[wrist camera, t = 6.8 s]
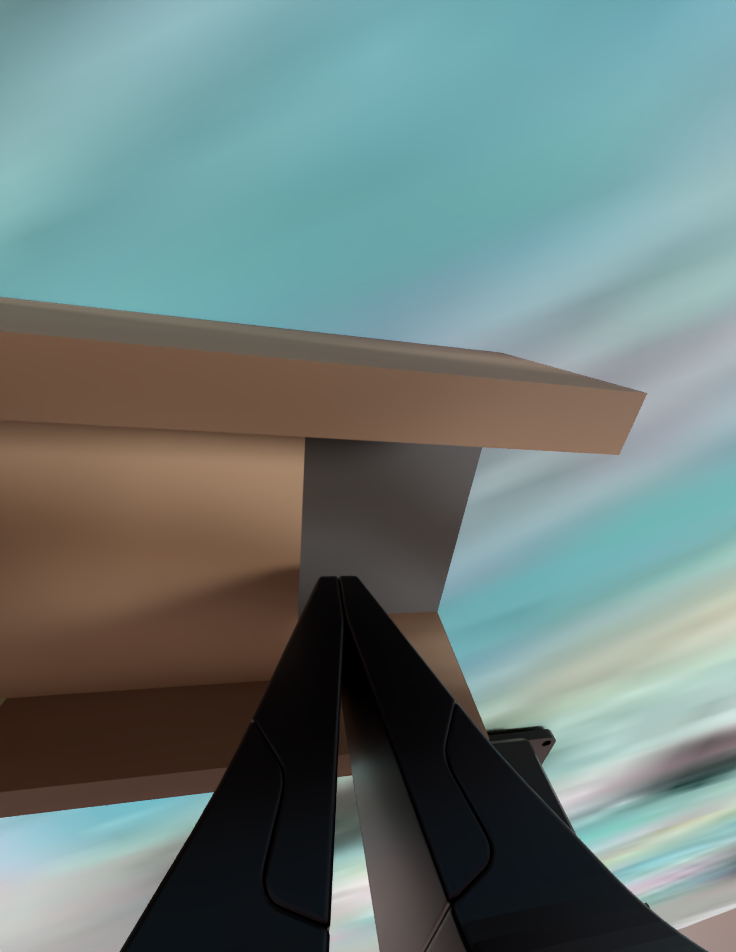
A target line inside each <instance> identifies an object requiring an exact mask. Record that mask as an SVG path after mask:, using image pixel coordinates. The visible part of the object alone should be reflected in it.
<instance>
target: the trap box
mask: <svg viewBox="0 0 736 952" xmlns="http://www.w3.org/2000/svg"><path fill="white" fill-rule="evenodd" d="M646 395H647V393H644V392H641V391H637V390H634V389H630V388H626V387H623V386H619V385H616V384H612V383H608V382H605V381H601V380H598V379H594V378H590V377H587V376H583V375H580V374H576V373H572V372H569V371H565V370H562V369H558V368H554V367H551V366H547V365H544V364H540V363H536V362H533V361H529V360H526V359H522V358H518V357H515V356H511V355H508V354H504V353H498V352H489V351H480V350H471V349H462V348H453V347H444V346H435V345H427V344H418V343H409V342H400V341H391V340H382V339H373V338H364V337H355V336H346V335H337V334H328V333H319V332H310V331H301V330H292V329H283V328H274V327H265V326H256V325H247V324H238V323H229V322H220V321H211V320H202V319H193V318H184V317H175V316H166V315H157V314H148V313H139V312H130V311H121V310H112V309H103V308H94V307H85V306H76V305H67V304H58V303H49V302H40V301H31V300H22V299H13V298H4V297H0V818H2V817H11V816H19V815H27V814H36V813H44V812H52V811H60V810H69V809H77V808H85V807H93V806H102V805H110V804H118V803H127V802H135V801H143V800H151V799H160V798H168V797H176V796H185V795H193V794H201V793H209V792H215V790H216V788H217V787H218V785H219V783H220V781H221V779H222V777H223V775H224V773H225V771H226V769H227V767H228V765H229V763H230V761H231V759H232V757H233V755H234V753H235V751H236V750H237V748H238V745H239V743H240V741H241V739H242V737H243V735H244V733H245V731H246V729H247V727H248V725H249V723H250V722H252V717H253V715H254V712H255V710H256V708H257V706H258V704H259V702H260V700H261V698H262V696H263V694H264V691H265V689H266V687H267V685H268V683H269V681H270V679H271V677H272V675H273V673H274V670H275V668H276V666H277V664H278V662H279V660H280V658H281V656H282V654H283V651H284V649H285V647H286V645H287V643H288V641H289V639H290V637H291V635H292V633H293V630H294V628H295V626H296V624H297V622H298V620H299V618H300V616H301V614H302V611H303V609H304V607H305V605H306V603H307V601H308V599H309V597H310V595H311V593H312V590H313V588H314V586H315V584H316V582H317V580H318V578H319V577H321V576H336V577H337V578H339V577H340V576H357V577H358V578H359V579H360V580H361V582H362V583H363V584H364V585H365V587H366V588H367V589H368V590H369V592H370V593H371V594H372V595H373V597H374V598H375V599H376V600H377V602H378V603H379V604H380V605H381V607H382V608H383V609H384V610H385V612H386V613H387V614H388V615H389V617H390V618H391V619H392V621H393V622H394V623H395V624H396V626H397V627H398V628H399V629H400V631H401V632H402V633H403V634H404V636H405V637H406V638H407V639H408V641H409V642H410V643H411V644H412V646H413V647H414V648H415V649H416V651H417V652H418V653H419V654H420V656H421V657H422V658H423V660H424V661H425V662H426V663H427V665H428V666H429V667H430V668H431V670H432V671H433V672H434V673H435V675H436V676H437V677H438V678H439V680H440V681H441V682H442V683H443V685H444V686H445V687H446V688H447V690H448V691H449V692H450V694H451V695H452V696H453V697H454V699H455V701H456V702H455V704H457V703H458V704H459V705H460V706H461V707H462V708H463V710H464V711H465V712H466V713H467V715H468V716H469V717H470V719H471V720H472V721H473V722H474V723H475V725H476V726H477V727H478V728H479V729H480V731H481V732H482V733H483V734H484V735H485V737H486V738H487V739H488V740H489V737H488V734H487V732H486V729H485V727H484V724H483V722H482V720H481V717H480V715H479V712H478V710H477V707H476V705H475V703H474V700H473V698H472V695H471V693H470V690H469V688H468V686H467V683H466V681H465V678H464V676H463V673H462V671H461V669H460V666H459V664H458V661H457V659H456V656H455V654H454V652H453V649H452V647H451V644H450V642H449V639H448V637H447V635H446V632H445V630H444V627H443V625H442V622H441V620H440V618H439V615H438V613H437V611H438V607H439V603H440V600H441V596H442V592H443V589H444V585H445V581H446V578H447V574H448V570H449V567H450V563H451V559H452V556H453V552H454V548H455V545H456V541H457V537H458V534H459V530H460V526H461V523H462V519H463V515H464V512H465V508H466V504H467V501H468V497H469V493H470V490H471V486H472V482H473V479H474V475H475V471H476V468H477V464H478V460H479V457H480V453H481V449H482V447H490V448H507V449H525V450H543V451H560V452H578V453H596V454H614V455H619V454H620V452H621V450H622V447H623V445H624V443H625V441H626V439H627V436H628V434H629V432H630V430H631V428H632V425H633V423H634V421H635V419H636V417H637V415H638V412H639V410H640V408H641V406H642V404H643V401H644V399H645V397H646ZM350 775H352V769H351V763H350V756H349V750H348V743H347V737H346V731H345V724H344V718H343V711H342V705H341V709H340V730H339V751H338V772H337V777H342V776H350Z"/></svg>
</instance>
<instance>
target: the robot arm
mask: <svg viewBox="0 0 736 952" xmlns="http://www.w3.org/2000/svg"><path fill="white" fill-rule="evenodd" d="M455 702H456V701H455V699H454V697H453V696H452V695H451V694H450V692H449V691H448V690H447V688H446V687H445V686H444V685H443V683H442V682H441V681H440V680H439V678H438V677H437V676H436V675H435V673H434V672H433V671H432V670H431V668H430V667H429V666H428V665H427V663H426V662H425V661H424V660H423V658H422V657H421V656H420V654H419V653H418V652H417V651H416V649H415V648H414V647H413V646H412V644H411V643H410V642H409V641H408V639H407V638H406V637H405V636H404V634H403V633H402V632H401V631H400V629H399V628H398V627H397V626H396V624H395V623H394V622H393V621H392V619H391V618H390V617H389V615H388V614H387V613H386V612H385V610H384V609H383V608H382V607H381V605H380V604H379V603H378V602H377V600H376V599H375V598H374V597H373V595H372V594H371V593H370V592H369V590H368V589H367V588H366V587H365V585H364V584H363V583H362V582H361V580H360V579H359V578H358V577H357V576H340V577H339V578H337V577H336V576H321V577H319V578H318V580H317V582H316V584H315V586H314V588H313V590H312V593H311V595H310V597H309V599H308V601H307V603H306V605H305V607H304V609H303V611H302V614H301V616H300V618H299V620H298V622H297V624H296V626H295V628H294V630H293V633H292V635H291V637H290V639H289V641H288V643H287V645H286V647H285V649H284V651H283V654H282V656H281V658H280V660H279V662H278V664H277V666H276V668H275V670H274V673H273V675H272V677H271V679H270V681H269V683H268V685H267V687H266V689H265V691H264V694H263V696H262V698H261V700H260V702H259V704H258V706H257V708H256V710H255V712H254V715H253V717H252V722H250V723H249V725H248V727H247V729H246V731H245V733H244V735H243V737H242V739H241V741H240V743H239V745H238V748H237V750H236V751H235V753H234V755H233V757H232V759H231V761H230V763H229V765H228V767H227V769H226V771H225V773H224V775H223V777H222V779H221V781H220V783H219V785H218V787H217V788H216V790H215V792H214V794H213V795H212V797H211V799H210V801H209V802H208V804H207V806H206V808H205V809H204V811H203V813H202V815H201V816H200V818H199V820H198V822H197V823H196V825H195V827H194V829H193V830H192V832H191V834H190V836H189V837H188V839H187V840H186V842H185V844H184V845H183V847H182V849H181V850H180V852H179V854H178V855H177V857H176V859H175V860H174V862H173V864H172V865H171V867H170V869H169V870H168V872H167V874H166V875H165V877H164V879H163V880H162V882H161V884H160V885H159V887H158V889H157V890H156V892H155V894H154V895H153V897H152V899H151V900H150V902H149V904H148V905H147V907H146V909H145V910H144V912H143V914H142V915H141V917H140V919H139V920H138V922H137V924H136V925H135V927H134V929H133V930H132V932H131V933H130V935H129V937H128V938H127V940H126V942H125V943H124V945H123V947H122V948H121V950H120V952H329V941H330V935H329V928H330V920H331V899H332V878H333V857H334V836H335V814H336V793H337V772H338V751H339V730H340V709H341V705H342V711H343V718H344V724H345V731H346V737H347V743H348V750H349V756H350V763H351V769H352V776H353V782H354V789H355V795H356V801H357V808H358V814H359V821H360V827H361V834H362V840H363V847H364V853H365V859H366V866H367V872H368V879H369V885H370V892H371V898H372V905H373V911H374V918H375V924H376V930H377V937H378V943H379V950H380V952H708V951H707V950H705V949H704V948H702V947H700V946H699V945H697V944H696V943H694V942H693V941H691V940H690V939H689V938H687V937H686V936H684V935H683V934H681V933H680V932H679V931H677V930H676V929H675V928H673V927H672V926H671V925H669V924H668V923H667V922H665V921H664V920H663V919H662V918H660V917H659V916H658V915H657V914H656V913H654V912H653V911H652V910H651V909H650V907H649V905H648V904H647V903H643V902H642V901H640V900H639V899H638V898H637V897H636V896H635V895H634V894H633V893H632V892H631V891H630V890H628V889H627V888H626V887H625V886H624V885H623V884H622V883H621V882H620V881H619V880H618V879H617V878H616V877H615V876H614V875H613V874H612V873H611V872H610V871H609V869H608V868H607V867H606V866H605V865H604V864H603V863H602V862H601V861H600V860H599V859H598V858H597V857H596V856H595V855H594V854H593V853H592V852H591V850H590V849H589V848H588V847H587V846H586V845H585V844H584V843H583V842H582V841H581V840H580V839H579V838H578V837H577V835H576V833H575V831H574V829H573V827H572V825H571V823H570V821H569V819H568V817H567V815H566V813H565V811H564V809H563V807H562V805H561V803H560V801H559V799H558V797H557V795H556V793H555V791H554V789H553V787H552V785H551V783H550V781H549V779H548V777H547V775H546V773H545V771H544V769H543V767H542V763H543V762H544V760H545V758H546V757H547V755H548V754H549V752H550V750H551V749H552V747H553V745H554V744H555V741H556V740H555V738H554V736H553V734H552V732H551V731H550V730H549V729H542V730H533V731H524V732H514V733H505V734H496V735H488V737H489V740H488V739H487V738H486V737H485V735H484V734H483V733H482V732H481V731H480V729H479V728H478V727H477V726H476V725H475V723H474V722H473V721H472V720H471V719H470V717H469V716H468V715H467V713H466V712H465V711H464V710H463V708H462V707H461V706H460V705H459V704H458V703H457V704H455Z"/></svg>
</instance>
